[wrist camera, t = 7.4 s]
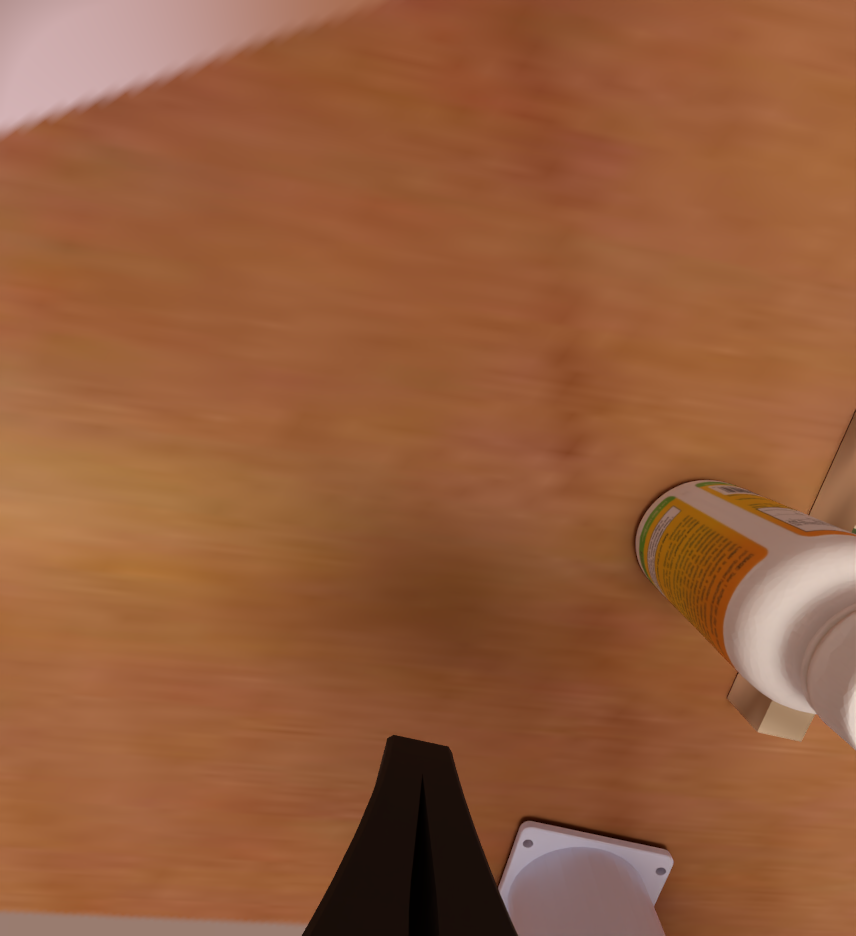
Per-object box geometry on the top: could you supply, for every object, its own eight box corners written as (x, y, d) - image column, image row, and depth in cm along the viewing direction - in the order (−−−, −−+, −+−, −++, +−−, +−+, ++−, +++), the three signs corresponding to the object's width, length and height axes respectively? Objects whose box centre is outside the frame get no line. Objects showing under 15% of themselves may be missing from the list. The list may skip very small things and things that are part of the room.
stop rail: (767, 707, 21) (807, 747, 19) (726, 698, 21) (761, 737, 19) (903, 420, 18) (970, 428, 16) (856, 409, 18) (916, 414, 16)
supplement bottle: (657, 611, 20) (850, 833, 11) (613, 510, 19) (783, 655, 9) (775, 563, 19) (1096, 754, 10) (735, 455, 18) (1051, 553, 9)
